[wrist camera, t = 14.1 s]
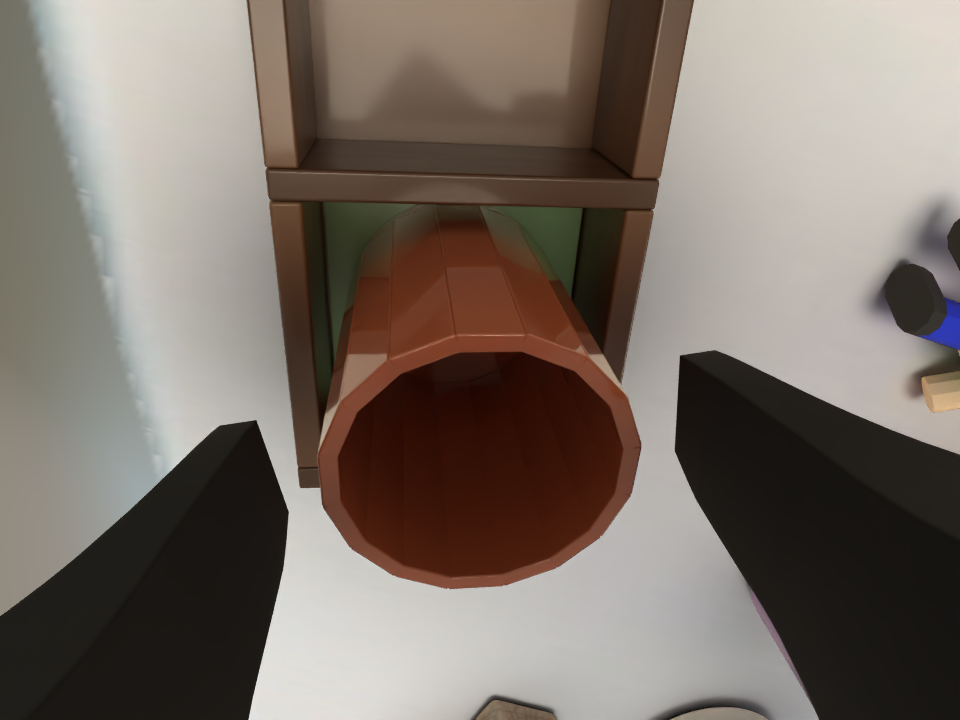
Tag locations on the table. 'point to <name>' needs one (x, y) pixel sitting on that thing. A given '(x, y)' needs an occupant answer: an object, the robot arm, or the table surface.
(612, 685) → the table surface
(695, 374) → the robot arm
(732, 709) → the pill bottle
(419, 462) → the tumbler
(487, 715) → the artifact
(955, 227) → the toy figurine
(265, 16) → the wooden compartment box
